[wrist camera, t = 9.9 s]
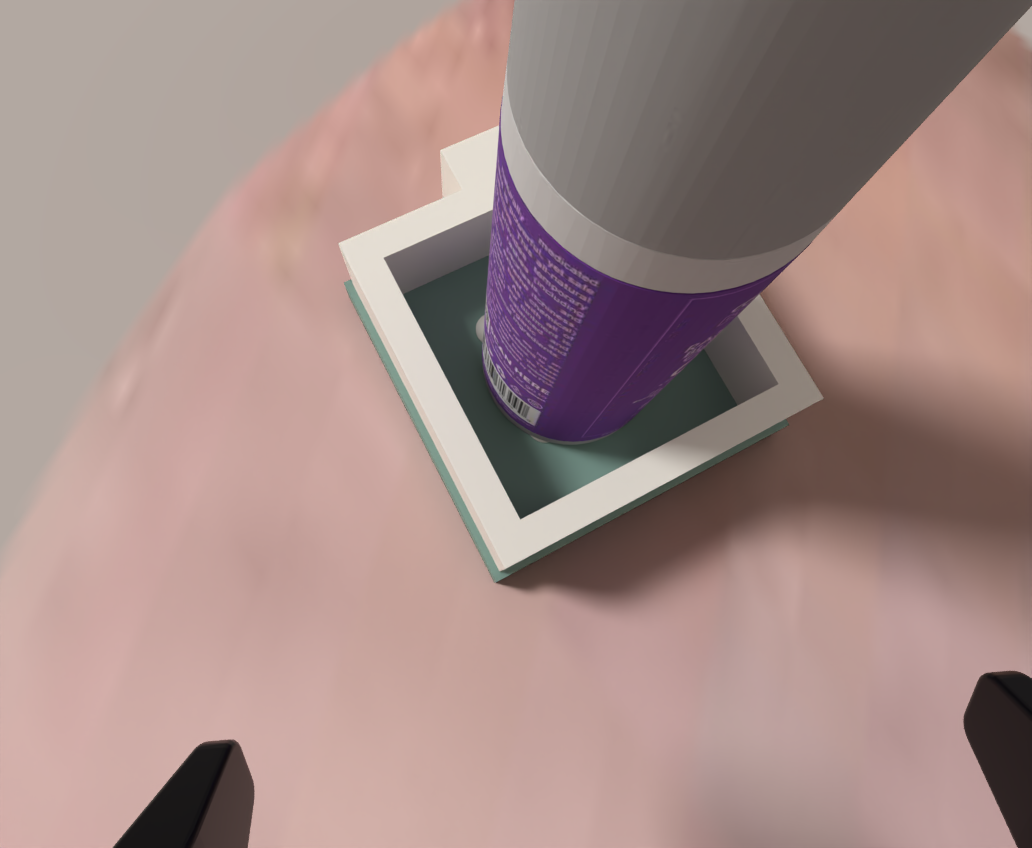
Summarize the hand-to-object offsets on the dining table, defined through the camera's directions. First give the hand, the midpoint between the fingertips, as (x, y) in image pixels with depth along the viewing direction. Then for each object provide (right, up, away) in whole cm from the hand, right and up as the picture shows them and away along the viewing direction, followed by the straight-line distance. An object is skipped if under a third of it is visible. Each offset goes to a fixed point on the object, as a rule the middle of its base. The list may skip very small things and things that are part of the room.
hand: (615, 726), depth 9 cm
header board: (0, +5, +12) cm, 13 cm away
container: (0, +5, +11) cm, 12 cm away
